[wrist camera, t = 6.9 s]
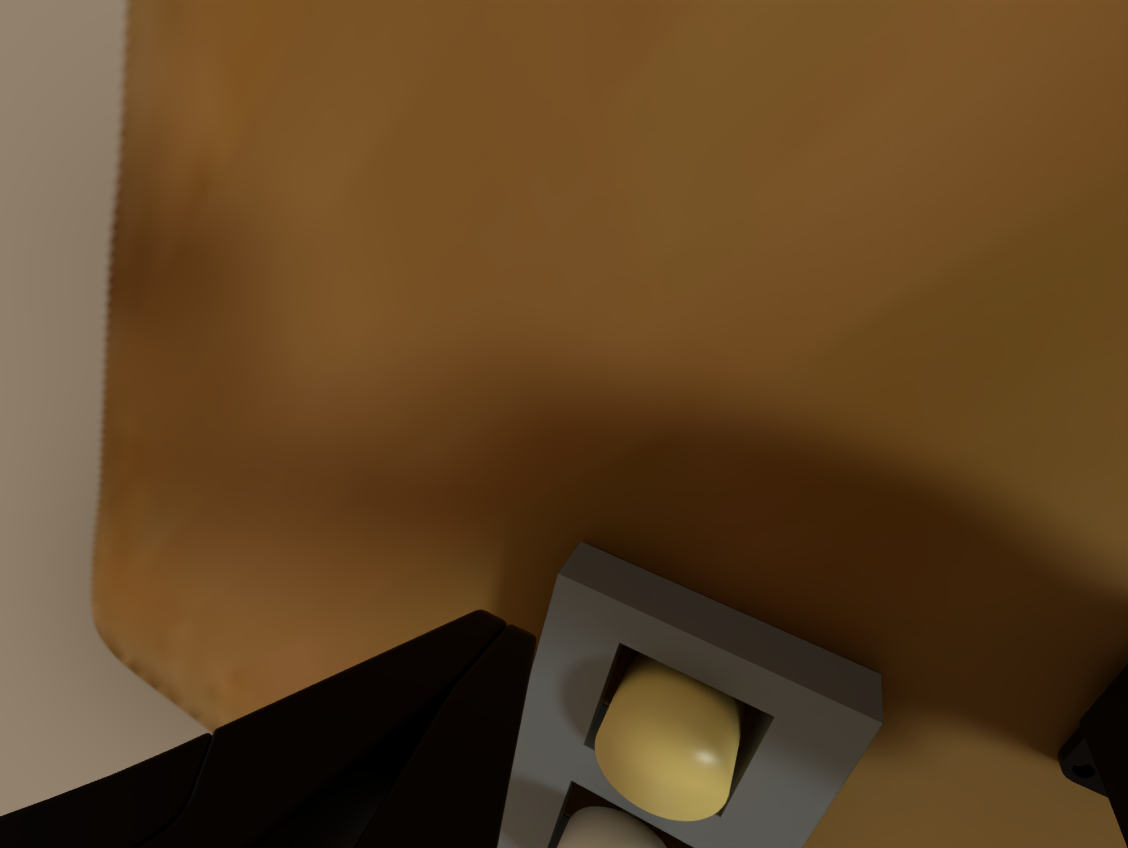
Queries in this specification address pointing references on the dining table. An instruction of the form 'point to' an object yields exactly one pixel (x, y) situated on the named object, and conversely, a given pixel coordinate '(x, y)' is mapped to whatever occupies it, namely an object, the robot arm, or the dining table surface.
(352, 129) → the dining table surface
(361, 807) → the robot arm
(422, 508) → the dining table surface
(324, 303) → the dining table surface
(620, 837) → the cream button
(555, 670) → the button panel
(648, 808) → the mustard button
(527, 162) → the dining table surface
